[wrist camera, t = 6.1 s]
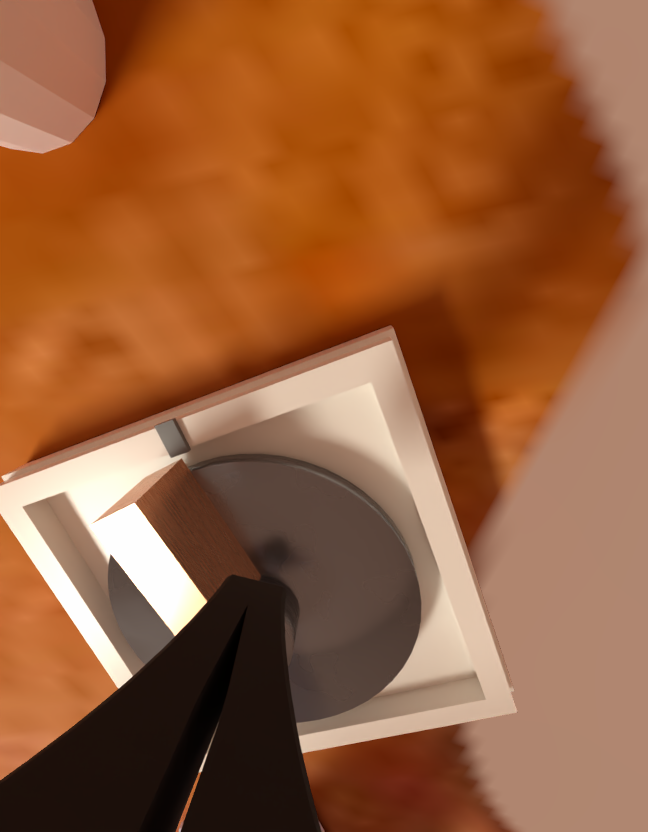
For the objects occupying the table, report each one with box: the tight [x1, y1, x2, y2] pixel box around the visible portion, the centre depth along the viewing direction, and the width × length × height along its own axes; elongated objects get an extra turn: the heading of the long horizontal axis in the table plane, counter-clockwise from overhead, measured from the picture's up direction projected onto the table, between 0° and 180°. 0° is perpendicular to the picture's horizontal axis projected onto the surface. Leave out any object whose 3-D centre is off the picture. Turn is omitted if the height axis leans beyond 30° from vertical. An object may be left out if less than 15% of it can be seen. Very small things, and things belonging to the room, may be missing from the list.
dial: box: [90, 454, 422, 723], centre depth 14 cm, size 12×12×4 cm
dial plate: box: [0, 325, 517, 772], centre depth 16 cm, size 16×16×2 cm
